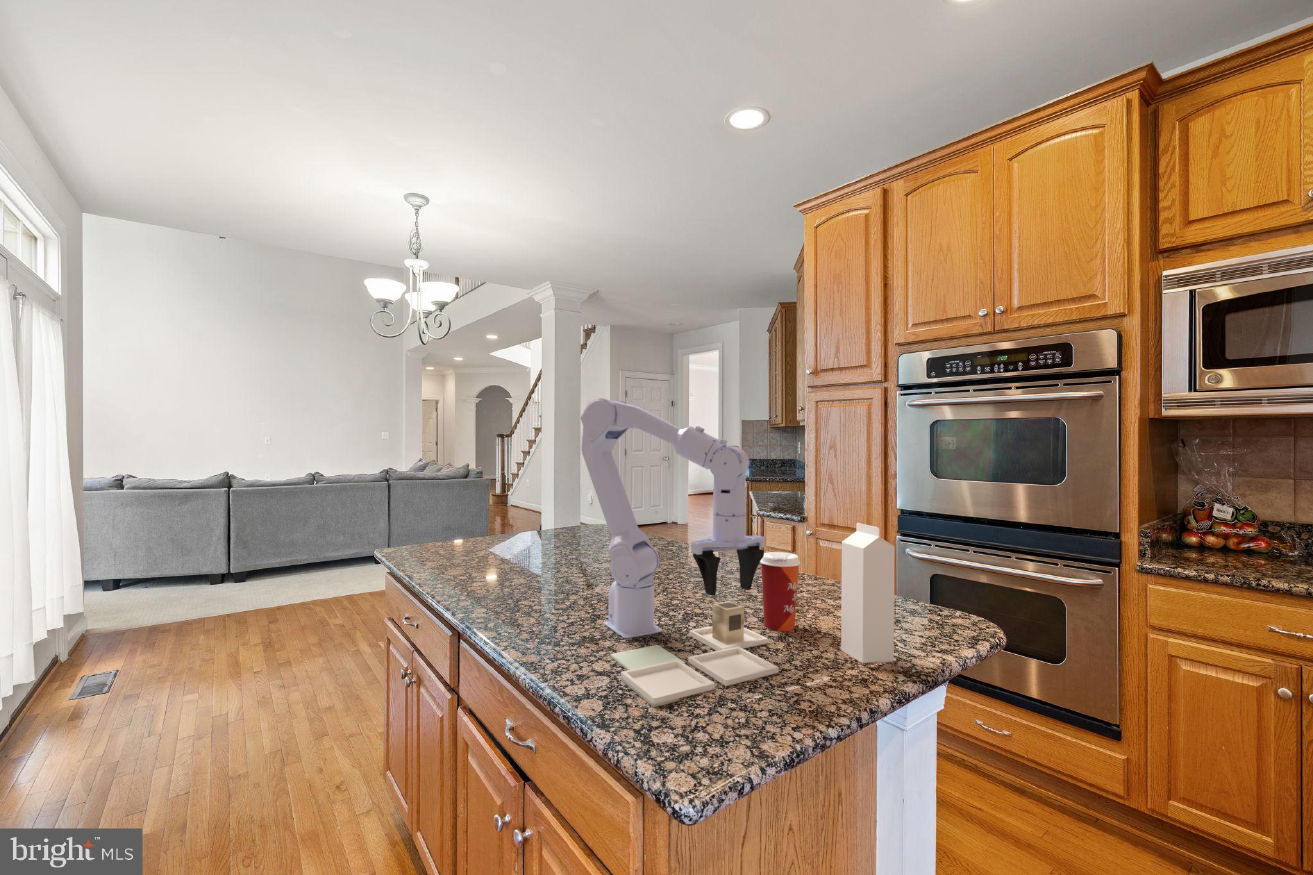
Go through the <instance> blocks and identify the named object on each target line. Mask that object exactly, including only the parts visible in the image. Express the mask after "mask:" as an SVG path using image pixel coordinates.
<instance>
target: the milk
mask: <svg viewBox="0 0 1313 875" xmlns="http://www.w3.org/2000/svg"><path fill="white" fill-rule="evenodd" d="M855 527H856V531H855V532H853V533H852V534H850V535H849V536H848V537H846V538H845V539H843V540H842V541H841V608H840V612H841V613H840V614H841V616H840V617H841V618H840V619H841V621H840V622H841V624H840V625H841V628H840V630H841V634H840V635H841V636H840V640H841V642H840V651H842V652H844V653H845V654H847V655H849V656H850V657H852V658H853V659H855V660H857V661H858V662H860V663H861V664H867V663H870V664H871V665H877V664H885V663H893V662H894V658H895V655H894V652H895V651H894V650H895V646H894V645H895V638H894V637H895V546H894V545H893V544H891V543H889V542H888V541H886V539H883V538H882V537H881V536H880V533H881V532H880V531H881V530H880V527H878V526H875V525H868V524H865V523H861V522H856V526H855Z"/></svg>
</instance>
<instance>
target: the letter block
mask: <svg viewBox="0 0 1313 875" xmlns="http://www.w3.org/2000/svg"><path fill="white" fill-rule="evenodd" d="M711 622H712V623H711V625H712V637H713V638H714V639H716V640H718V641H720V642H722V643H724V644H730V643H735V642H739V641H744V627H745V606H743V605H740V604H739V603H735V602H734V601H731V600H728V601H722V602H717V603H713V604H712V621H711Z"/></svg>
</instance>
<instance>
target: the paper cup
mask: <svg viewBox="0 0 1313 875" xmlns="http://www.w3.org/2000/svg"><path fill="white" fill-rule="evenodd" d="M759 564H761V565H760V566H761V583H762V588H761V589H762V606H763V622H764V628H766V629H768V630H771V631H775V632H790V631H793V630H794V629H795V625H796V612H797V611H796V610H797V600H798V598H797V597H798V584H799V566H800V565H801V564H802V563H801V561H800V560H799V556H798V555H797V554H796V553H795V554H794V553H791V552H785V551H783V552H782V551H769V552H764V556H763V558H762V559H761V561H760V563H759Z"/></svg>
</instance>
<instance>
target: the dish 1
mask: <svg viewBox="0 0 1313 875" xmlns="http://www.w3.org/2000/svg"><path fill="white" fill-rule="evenodd" d="M620 681H622V682H623V683H624V684H625V685H627V687H629V689H631V690H632V691H634V692H635V693H636V694H637V695H638V696H639V697H640V698H642V699H643V700H644V701H645V702H647V703H648V704H649V705H650V706H651V707H652V708H656V707H661V706H665V705H669V704H673V703H676V702H680V701H682V700H681V699H682V698H687V697H690V696H693V695H697V694H701V693H705V692H709V691H712V690H713V691H714V690H715V682H714V681H712V680H710V679H709V678H708V677H706V676H704V675H703V674H701V673H700V672H698V671H697V670H694V668H692V667H690V666H688V665H687V664H686V663H683V662H681V661H679V660H678V659H677V660H673V661H668V662H664V663H659V664H654V665H650V666H645V667H641V668H636V669H631V670H627V669H626V670H624V671H620Z"/></svg>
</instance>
